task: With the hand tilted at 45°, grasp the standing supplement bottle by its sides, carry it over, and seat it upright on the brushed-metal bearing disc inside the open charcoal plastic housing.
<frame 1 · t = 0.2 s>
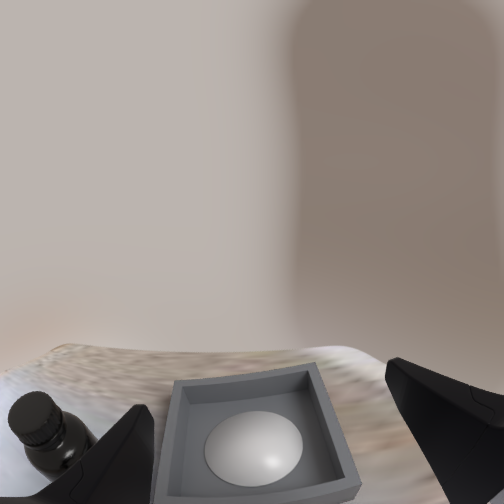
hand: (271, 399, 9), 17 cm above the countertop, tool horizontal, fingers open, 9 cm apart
housing: (254, 451, 21), on the countertop
supplement bottle: (104, 487, 16), on the countertop
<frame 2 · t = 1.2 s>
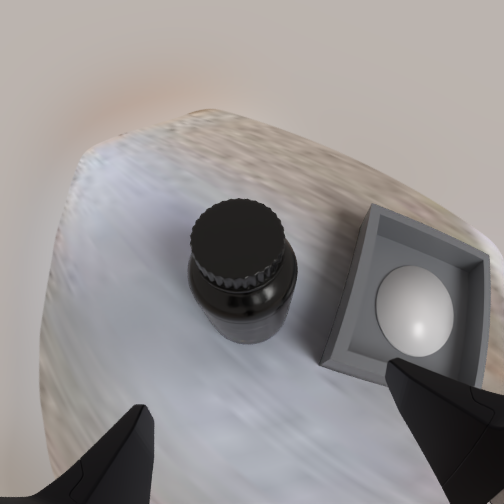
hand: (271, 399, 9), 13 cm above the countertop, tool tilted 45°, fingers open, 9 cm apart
housing: (412, 313, 23), on the countertop
supplement bottle: (248, 309, 24), on the countertop
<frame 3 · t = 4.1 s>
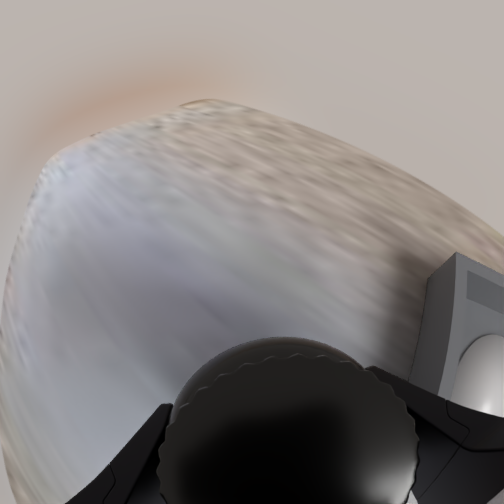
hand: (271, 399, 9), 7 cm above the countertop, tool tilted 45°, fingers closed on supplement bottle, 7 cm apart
housing: (482, 395, 13), on the countertop
supplement bottle: (271, 419, 14), on the countertop, touching gripper
when the fingers open (9 cm above the countertop, at t = 8.8 s): supplement bottle stays where it is, resting on housing.
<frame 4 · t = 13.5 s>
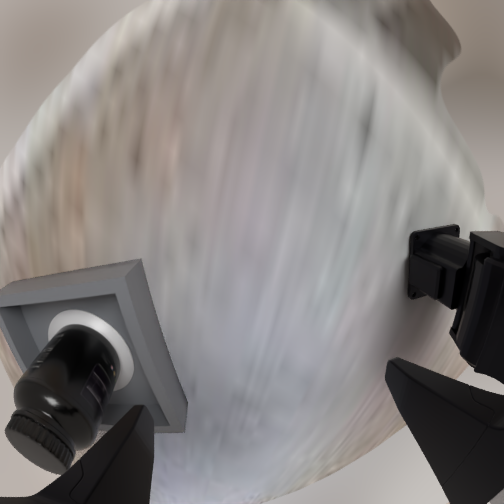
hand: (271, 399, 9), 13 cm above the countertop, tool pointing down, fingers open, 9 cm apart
housing: (92, 347, 22), on the countertop
supplement bottle: (89, 353, 21), point 1 cm above the countertop, touching housing
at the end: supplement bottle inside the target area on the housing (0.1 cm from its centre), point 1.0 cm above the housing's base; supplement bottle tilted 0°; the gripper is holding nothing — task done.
